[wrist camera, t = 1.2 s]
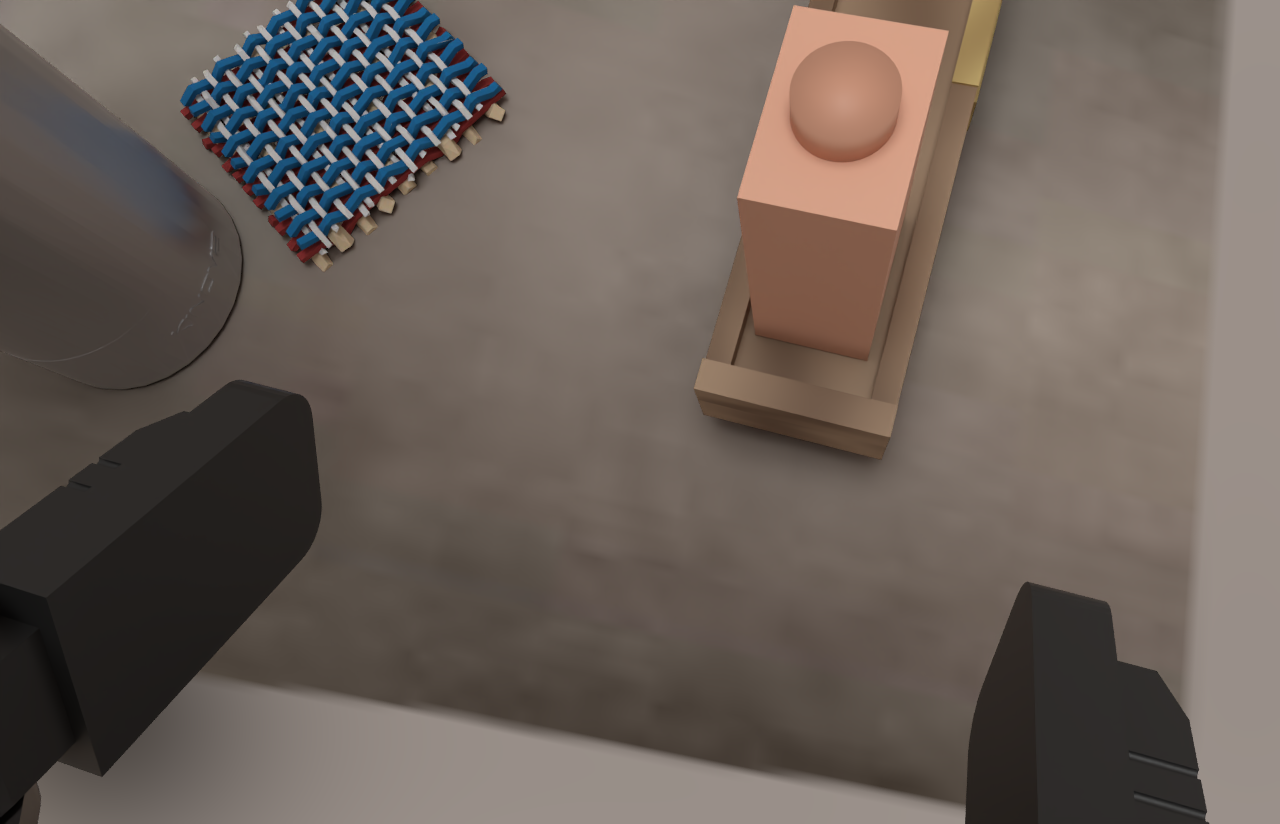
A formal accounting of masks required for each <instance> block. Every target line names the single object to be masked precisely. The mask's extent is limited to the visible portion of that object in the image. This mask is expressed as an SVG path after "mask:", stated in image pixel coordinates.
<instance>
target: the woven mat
mask: <svg viewBox="0 0 1280 824" xmlns="http://www.w3.org/2000/svg"><path fill="white" fill-rule="evenodd" d="M413 1H415V0H371V2H370V4H368V3H367V2H365V1H364V0H297V2H296V5H294V4H293V3H292V2H291V1H289V2H288V4H287V7H288V8H289V9H290V10H288V11H285V12H283V13H280V12H279V10H278V9H275V10H274V11H273V12H272V13H273V15H274V16H273V17H272V18H271V20H270V22H269V24H268V26H267V28H266V29H265V28H264V27H263V26H262V25H260V26H257V28H258V31H259V32H260V33H259V34H252V35H251V34H250V33H249V32H248V31H246V32H245V33H244V34H243V36H244V37H245V38H246V41H245V43H244V45H243V47H242V48H241V47H240V46H239V45H238V43H237V44H236V46H235V47H234V49H235V51H236V52H237V53H238V54H237V55H234V56H231V57H228V58H225V59H223V60H222V59H221V58H220V57H219V56H218V55H217V56H216V57H214V58H213V60H214V61H215V62H216V64H215V67H214V69H213V72H212V75H211V74H210V73H209V71H208V70H205V71H203V73H204V76H205V78H206V79H204V80H201V81H198V80H197V78H196V77H193V78H192V79H191V82H192V83H193V84H191V85H188V87H187V89H186V91H185V92H184V94H183V96H182V98H181V100H180V101H181V103H182V104H183V105H184V106H186V107H185V108H184V109H182V110H181V111H180V112H181V113H182V114H183V115H184V117H186V118H187V119H188V120H189V119H191V118H192V117H193V116H194V117H197V118H198V119H197V120H196V121H194V122H193V123H192V124H191V125H192V126H193V127H194V129H195V130H197V131H198V132H199V133H200V132H201V131H202V130H204V131H205V132H208V135H209V136H210V137H208V138H205V139H202V142H203V145H204V146H205V148H206V149H211V150H212V151H213V152H214V153H215V154H216V155H217V156H218V157H221V156H222V155H224V156H225V157H230V158H229V159H228V160H227V161H226V162H225V163H224V164H223V165H222V167H223V168H224V170H225V171H226V172H227V173H228V172H230V171H232V170H233V169H239V170H238V171H236V172H235V173H233V174H232V175H233V176H234V178H235V179H236V180H237V181H238V183H241V182H242V181H245V182H246V183H247V184H246V185H244V186H243V187H242V188H243V190H244V191H245V192H246V193H247V194H248V195H249V196H252V195H253V194H255V195H256V196H258V197H257V198H256V199H255V200H253V202H254V203H255V205H256V206H257V207H258V208H260V209H262V208H264V207H266V208H267V209H268V210H270V212H271V213H272V214H273V215H270V216H269V217H268V222H269V223H270V224H271V225H272V227H273V226H275V227H274V228H275V229H276V230H277V232H278V233H279V234H280V235H282V236H283V235H285V234H286V233H287V234H288V235H289V236H290V237H291V238H292V237H293V238H292V239H291V240H290V241H289V242H288V244H287V246H288V247H289V248H290V250H291V251H297V250H298V249H299V248H301V250H302V251H300V252H299V253H298V254H297V256H298V258H299V259H300V260H301V261H302V262H303V263H305V262H306V261H307V260H309V259H310V258H311V259H312V260H313V262H314V263H315V264H316V265H317V266H318V267H319V268H320V269H321V270H322V271H323V272H325V271H326V270H327V269H328V268H329V267H331V266H332V265H333V263H332V261H331V260H330V258H329V257H328V256H327V254H326V253H327V251H326V250H325V248H330V247H331V246H333V245H336V247H337V248H338V249H339V250H340V251H341V252H343V251H345V250H346V249H347V248H349V247H350V246H352V244H353V242H354V239H353V238H352V236H351V235H350V234H351V233H352V231H353V229H354V227H355V225H356V224H357V225H358V226H359V227H360V228H361V229H362V230H363V231H364V232H365V233H366V234H367V235H369V234H370V233H372V232H373V231H374V230H375V229H376V228H377V227H378V226H377V225H376V223H375V222H374V220H373V219H372V218H371V216H370V213H369V210H370V209H371V208H373V207H374V206H375V205H376V206H377V207H378V209H379V210H380V211H382V212H387V213H392V210H393V207H394V204H395V201H394V200H393V199H392V197H391V196H390V195H389V194H390V193H391V192H392V191H393V190H394V189H396V188H398V189H399V190H400V191H401V192H402V194H403V195H406V194H408V193H409V192H410V191H411V190H412V189H413V188H415V187H416V186H417V185H416V183H415V182H414V180H415V177H414V173H415V172H416V171H417V170H419V169H420V168H421V169H422V170H423V171H424V172H425V174H426V175H427V176H429V175H430V174H431V173H432V172H434V171H435V170H436V169H437V168H438V167H437V166H436V165H435V164H434V162H433V161H432V160H434V159H436V158H439V157H442V156H443V155H444V154H445V155H446V156H447V157H448V159H449V160H450V161H452V160H453V159H455V158H456V157H457V156H459V155H460V153H461V151H462V149H461V148H460V147H459V146H458V145H457V143H458V141H459V139H460V137H461V135H462V134H463V136H465V137H466V138H467V139H468V140H469V141H470V142H471V143H472V144H474V145H476V144H477V143H478V142H479V141H480V140H482V138H481V137H480V135H479V134H478V133H477V131H476V130H475V129H474V127H473V126H472V124H473V123H474V122H475V121H477V120H478V119H479V118H480V117H481V116H482V115H483V114H484V113H485V115H486V116H487V117H489V118H492V119H495V120H498V121H502V118H503V115H504V113H505V110H504V109H502V108H501V107H499V106H498V105H497V103H496V102H497V101H499V100H500V99H501V98H502V97H503V96H504V95H505V94H506V93H505V91H504V90H503V89H502V88H501V87H500V86H499V85H498V84H497V83H496V82H495V81H494V80H493V79H492V77H488V78H485V79H482V80H481V81H480V82H478V81H479V80H480V78H481V77H483V76H484V75H486V74H488V73H487V68H486V67H485V66H484V65H483V64H482V63H481V64H478V63H477V62H476V61H475V60H474V59H473V58H472V57H471V56H469V54H468V53H467V52H466V51H465V50H464V49H463V48H464V47H463V43H462V42H461V41H460V40H459V39H458V38H457V39H455V38H454V37H453V36H452V35H451V34H450V33H449V32H447V31H446V29H444V28H442V27H439V29H438V31H437V32H436V34H434V33H433V32H431V31H432V29H433V28H434V27H435V26H437V25H438V24H440V19H439V18H438V17H437V16H436V15H435V14H434V13H433V14H431V13H430V12H429V11H428V10H427V9H426V8H424V6H423V5H422V4H421V3H420V2H419V1H418V2H416V3H415V4H413V5H412V6H411V7H409V5H410V3H412V2H413ZM336 2H337V3H338V4H337V5H336V4H335V3H336ZM307 5H308V7H307ZM381 7H382V8H381ZM408 7H409V8H408ZM317 22H320V24H319V26H318V28H316V27H315V26H314V25H312V24H311V23H317ZM282 25H283V26H284V27H283V28H281V26H282ZM329 30H330V31H329ZM263 44H266V46H265V49H263V48H262V47H261V46H260V45H263ZM333 47H334V48H333ZM417 47H418V48H417ZM411 48H415V49H411ZM410 49H411V50H410ZM380 50H382V51H383V53H384V55H383V54H381V53H380V52H379V51H380ZM457 52H458V53H457ZM456 53H457V54H456ZM237 66H238V67H237ZM234 67H237V68H235V69H233V70H230V69H232V68H234ZM282 69H283V70H282ZM362 70H365V71H362ZM332 71H333V72H332ZM358 71H362V72H360V73H358V74H356V73H355V72H358ZM224 73H226V75H224ZM435 73H438V75H437V77H436V76H434V75H433V74H435ZM223 75H224V76H223ZM324 75H327V77H328V78H329V81H328V80H327V79H326V78H325V77H324ZM403 75H404V76H403ZM297 76H298V78H297ZM402 76H403V77H402ZM200 93H201V95H200ZM308 93H309V95H305V96H303V94H308ZM273 96H275V97H276V98H277V100H278V101H277V103H276V102H275V100H274V99H273ZM381 96H385V97H384V99H383V100H382V101H381V100H380V99H378V98H377V97H381ZM246 98H247V99H246ZM194 99H195V100H194ZM245 99H246V100H245ZM346 100H347V101H346ZM366 110H367V111H368V112H367V111H366ZM229 115H230V117H228V116H229ZM254 116H257V117H255V118H252V117H254ZM330 118H331V121H330V123H329V124H327V122H326V121H325V120H326V119H330ZM220 119H222V120H223V121H224V123H225V124H226V125H225V127H224V125H223V124H222V122H221V121H220ZM295 121H297V122H295ZM294 122H295V123H294ZM368 126H369V127H368ZM450 126H452V127H453V128H452V130H451V129H450ZM276 141H278V142H277V145H276V147H275V144H274V143H273V142H276ZM434 146H435V147H434ZM430 147H432V148H430ZM427 148H429V149H427ZM424 149H426V150H424ZM393 151H394V152H395V153H396V156H395V155H394V154H393V153H392V152H393ZM259 154H260V155H261V156H262V158H259V159H257V157H258V156H259ZM339 174H341V175H342V176H343V178H341V177H340V176H339ZM284 197H286V198H287V199H288V201H286V200H285V199H284ZM342 221H343V223H342V225H341V224H340V222H342ZM306 224H307V225H306Z"/></svg>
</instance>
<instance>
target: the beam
mask: <svg viewBox="0 0 1280 824" xmlns="http://www.w3.org/2000/svg"><path fill="white" fill-rule="evenodd" d="M1001 3H1002V0H810V3H809V6H808V8H813V9H819V10H825V11H831V12H837V13H843V14H849V15H856V16H862V17H868V18H874V19H880V20H886V21H892V22H898V23H904V24H910V25H916V26H922V27H928V28H934V29H940V30H946V31H949V33H948V37H947V41H946V45H945V49H944V54H943V58H942V62H941V66H940V70H939V75H938V79H937V83H936V87H935V91H934V96H933V100H932V104H931V108H930V112H929V117H928V121H927V125H926V129H925V133H924V138H923V142H922V146H921V150H920V154H919V159H918V163H917V167H916V171H915V175H914V180H913V184H912V188H911V192H910V196H909V201H908V205H907V209H906V213H905V217H904V221H903V225H902V229H901V233H900V236H899V240H898V244H897V248H896V252H895V256H894V260H893V263H892V267H891V271H890V275H889V279H888V283H887V287H886V290H885V294H884V298H883V302H882V306H881V310H880V314H879V317H878V321H877V325H876V329H875V333H874V337H873V341H872V344H871V348H870V352H869V356H868V360H867V361H865V360H861V359H857V358H852V357H848V356H844V355H840V354H835V353H831V352H827V351H823V350H818V349H814V348H810V347H806V346H801V345H797V344H793V343H789V342H784V341H780V340H776V339H772V338H767V337H763V336H759V335H755V329H754V322H753V314H752V307H751V299H750V291H749V284H748V276H747V269H746V261H745V253H744V246H743V238H742V236H741V239H740V243H739V246H738V250H737V253H736V257H735V260H734V263H733V267H732V270H731V274H730V277H729V281H728V284H727V288H726V291H725V294H724V298H723V301H722V305H721V308H720V312H719V315H718V318H717V322H716V325H715V329H714V332H713V336H712V339H711V342H710V346H709V349H708V353H707V356H706V359H705V358H702V362H701V365H700V369H699V372H698V376H697V379H696V382H695V386H694V390H695V393H696V396H697V398H698V401H699V404H700V406H701V409H702V411H703V414H704V415H707V416H711V417H715V418H719V419H723V420H727V421H731V422H735V423H739V424H743V425H747V426H751V427H755V428H759V429H762V430H766V431H770V432H774V433H778V434H782V435H786V436H790V437H794V438H798V439H802V440H806V441H810V442H813V443H817V444H821V445H825V446H829V447H833V448H837V449H841V450H845V451H849V452H853V453H857V454H861V455H865V456H868V457H872V458H876V459H880V460H881V459H882V456H883V454H884V451H885V449H886V447H887V444H888V442H889V439H890V436H891V432H892V428H893V424H894V420H895V416H896V412H897V408H898V402H899V398H900V394H901V390H902V386H903V382H904V378H905V374H906V370H907V366H908V362H909V358H910V354H911V350H912V346H913V342H914V338H915V334H916V330H917V326H918V322H919V318H920V314H921V310H922V306H923V302H924V298H925V294H926V290H927V286H928V282H929V278H930V274H931V270H932V266H933V262H934V258H935V254H936V250H937V246H938V242H939V238H940V235H941V231H942V227H943V223H944V219H945V215H946V211H947V207H948V203H949V199H950V195H951V191H952V187H953V183H954V179H955V175H956V171H957V167H958V163H959V159H960V155H961V151H962V147H963V143H964V139H965V135H966V131H968V128H969V125H970V122H971V119H972V116H973V112H974V109H975V106H976V103H977V99H978V95H979V91H980V87H981V83H982V79H983V75H984V71H985V67H986V63H987V59H988V55H989V51H990V47H991V43H992V39H993V35H994V31H995V27H996V23H997V19H998V15H999V11H1000V7H1001Z"/></svg>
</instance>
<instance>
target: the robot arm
mask: <svg viewBox="0 0 1280 824" xmlns="http://www.w3.org/2000/svg"><path fill="white" fill-rule="evenodd" d="M241 264H242V256H241V249H240V242H239V236H238V234H237V231H236V229H235V226H234V223H233V221H232V218H231V217H230V215H229V214H228V212H227V211H226V210H225V208H224V207H223V205H222V204H221V203H220V201H219V200H218V199H217V198H215V197H214V196H213V195H212V194H211V193H209V192H208V191H207V190H206V189H205V188H203V187H202V186H201V185H200V184H199V183H197V182H196V181H195V180H194V179H192V178H191V177H190V176H189V175H187V174H186V173H185V172H184V171H182V170H181V169H180V168H179V167H178V166H176V165H175V164H174V163H173V162H171V161H170V160H169V159H168V158H166V157H165V156H164V155H163V154H162V153H160V152H159V151H158V150H157V149H156V148H155V147H154V146H152V145H151V144H150V143H149V142H147V141H146V140H145V139H144V138H142V137H141V136H140V135H139V134H137V133H136V132H135V131H134V130H132V129H131V128H130V127H129V126H127V125H126V124H125V123H124V122H122V121H121V120H120V119H119V118H117V117H116V116H115V115H114V114H112V113H111V112H110V111H109V110H107V109H106V108H105V107H104V106H102V105H101V104H100V103H99V102H97V101H96V100H95V99H94V98H92V97H91V96H90V95H89V94H87V93H86V92H85V91H84V90H82V89H81V88H80V87H79V86H77V85H76V84H75V83H74V82H72V81H71V80H70V79H69V78H67V77H66V76H65V75H64V74H62V73H61V72H60V71H59V70H57V69H56V68H55V67H54V66H52V65H51V64H50V63H49V62H47V61H46V60H45V59H44V58H42V57H41V56H40V55H39V54H37V53H36V52H35V51H34V50H33V49H31V48H30V47H29V46H28V45H26V44H25V43H24V42H23V41H21V40H20V39H19V38H18V37H16V36H15V35H14V34H13V33H11V32H10V31H9V30H8V29H6V28H5V27H4V26H3V25H1V24H0V351H3V352H5V353H7V354H9V355H12V356H14V357H17V358H19V359H22V360H25V361H27V362H30V363H32V364H35V365H37V366H40V367H42V368H45V369H48V370H50V371H53V372H55V373H58V374H60V375H63V376H65V377H68V378H71V379H73V380H76V381H78V382H81V383H84V384H88V385H91V386H94V387H98V388H105V389H128V388H134V387H140V386H146V385H148V384H151V383H154V382H156V381H159V380H161V379H164V378H166V377H169V376H170V375H172V374H173V373H175V372H177V371H178V370H180V369H181V368H183V367H185V366H186V365H188V364H189V363H190V362H191V361H192V360H194V359H195V358H196V357H197V356H198V355H199V354H200V353H201V352H202V351H203V350H204V349H206V348H207V347H208V345H209V344H210V343H211V341H212V340H213V339H214V337H215V336H216V335H217V333H218V332H219V331H220V329H221V328H222V327H223V325H224V323H225V321H226V319H227V317H228V315H229V313H230V311H231V309H232V307H233V305H234V302H235V298H236V295H237V291H238V288H239V284H240V278H241ZM321 510H322V504H321V493H320V483H319V474H318V465H317V456H316V446H315V437H314V428H313V418H312V412H311V408H310V405H309V403H308V401H307V400H306V399H305V398H304V397H303V396H301V395H299V394H295V393H291V392H288V391H284V390H280V389H276V388H272V387H268V386H264V385H260V384H256V383H252V382H248V381H244V380H235V381H232V382H230V383H228V384H227V385H225V386H224V387H222V388H221V389H220V390H218V391H217V392H216V393H214V394H213V395H212V396H211V397H209V398H208V399H207V400H205V401H204V402H203V403H201V404H200V405H199V406H197V407H196V408H195V409H193V410H192V411H191V412H190V413H189V412H185V411H183V412H181V413H178V414H176V415H173V416H171V417H168V418H166V419H163V420H161V421H158V422H156V423H153V424H151V425H149V426H146V427H144V428H141V429H139V430H136V431H135V432H133V433H132V434H131V435H129V436H128V437H127V438H125V439H124V440H123V441H121V442H120V443H118V444H117V445H116V446H114V447H113V448H112V449H110V450H109V451H108V452H106V453H105V454H103V455H102V456H101V457H99V462H98V463H97V464H93V463H91V464H90V465H89V466H87V467H86V468H84V469H83V470H82V471H80V472H79V473H78V474H76V475H75V476H74V477H72V478H71V479H70V480H69V484H68V485H67V487H63V486H60V487H59V488H57V489H56V490H55V491H53V492H52V493H50V494H49V495H48V496H46V497H45V498H44V499H42V500H41V501H40V502H38V503H37V504H36V505H34V506H33V507H31V508H30V509H29V510H27V511H26V512H25V513H23V514H22V515H21V516H19V517H18V518H16V519H15V520H14V521H12V522H11V523H10V524H8V525H7V526H6V527H4V528H3V529H2V530H0V824H38V819H39V813H40V806H41V795H40V791H39V787H38V784H37V781H38V780H39V779H40V778H41V777H42V776H43V775H44V774H45V773H46V772H47V771H48V770H49V769H50V768H51V767H52V766H53V765H54V764H55V763H56V762H57V761H59V762H62V763H64V764H67V765H70V766H73V767H76V768H78V769H81V770H84V771H87V772H90V773H93V774H95V775H98V776H101V777H102V776H103V775H104V774H105V773H106V772H107V771H108V770H109V768H111V767H112V766H113V764H114V763H115V762H116V761H117V760H118V759H119V758H120V757H121V756H122V755H123V754H124V752H125V751H126V750H127V749H128V748H129V747H130V746H131V745H132V744H133V743H134V742H135V741H136V739H137V738H138V737H139V736H140V735H141V734H142V733H143V732H144V731H145V730H146V728H147V727H148V726H149V725H150V724H151V723H152V722H153V721H154V720H155V718H157V717H158V715H159V714H160V713H161V712H162V711H163V710H164V709H165V708H166V707H167V706H168V704H169V703H170V702H171V701H172V700H173V699H174V698H175V697H176V696H177V695H178V693H179V692H180V691H181V690H182V689H183V688H184V687H185V686H186V685H187V684H188V683H189V682H190V681H191V679H192V678H193V677H194V676H195V675H196V674H197V673H198V672H199V671H200V670H201V669H202V667H203V666H204V665H205V664H206V663H207V662H208V661H209V660H210V659H211V658H212V657H213V655H214V654H215V653H216V652H217V651H218V650H219V649H220V648H221V647H222V646H223V645H224V643H225V642H226V641H227V640H228V639H229V638H230V637H231V636H232V635H233V634H234V633H235V631H236V630H237V629H238V628H239V627H240V626H241V625H242V624H243V623H244V622H245V621H246V620H247V618H248V617H249V616H250V615H251V614H252V613H253V612H254V611H255V610H256V609H257V608H258V606H259V605H260V604H261V603H262V602H263V601H264V600H265V599H266V598H267V597H268V596H269V594H270V593H271V592H272V591H273V590H274V589H275V588H276V587H277V586H278V585H279V584H280V582H281V581H282V580H283V579H284V578H285V577H286V576H287V575H288V574H289V573H290V572H291V570H292V569H293V568H294V567H295V566H296V565H297V564H298V563H299V562H300V561H301V560H302V558H303V557H304V556H305V555H306V553H307V552H308V550H309V549H310V547H311V545H312V543H313V541H314V538H315V536H316V533H317V531H318V527H319V523H320V518H321ZM1198 771H1199V768H1198V763H1197V758H1196V753H1195V747H1194V742H1193V737H1192V732H1191V727H1190V722H1189V719H1188V718H1187V716H1186V714H1185V713H1184V711H1183V710H1182V708H1181V707H1180V705H1179V704H1178V702H1177V701H1176V699H1175V698H1174V696H1173V695H1172V693H1171V692H1170V690H1169V689H1168V687H1167V686H1166V684H1165V683H1164V681H1163V680H1162V678H1161V677H1160V675H1159V674H1158V672H1157V671H1154V670H1150V669H1147V668H1143V667H1139V666H1135V665H1132V664H1128V663H1124V662H1120V661H1117V654H1116V646H1115V638H1114V630H1113V622H1112V615H1111V609H1110V607H1109V605H1108V603H1107V602H1105V601H1101V600H1097V599H1093V598H1089V597H1085V596H1081V595H1077V594H1074V593H1070V592H1066V591H1062V590H1058V589H1054V588H1050V587H1046V586H1042V585H1038V584H1034V583H1030V582H1025V583H1024V584H1023V586H1022V587H1021V589H1020V591H1019V593H1018V595H1017V598H1016V600H1015V603H1014V605H1013V608H1012V610H1011V613H1010V616H1009V618H1008V621H1007V623H1006V626H1005V629H1004V631H1003V634H1002V636H1001V639H1000V642H999V644H998V647H997V649H996V652H995V655H994V657H993V660H992V662H991V665H990V668H989V670H988V673H987V675H986V678H985V681H984V683H983V686H982V689H981V692H980V695H979V698H978V701H977V705H976V709H975V713H974V717H973V722H972V728H971V733H970V740H969V750H968V769H967V793H966V817H965V824H1209V823H1208V822H1206V821H1205V815H1206V813H1207V809H1206V804H1205V799H1204V794H1203V789H1202V784H1201V780H1199V779H1197V774H1198Z"/></svg>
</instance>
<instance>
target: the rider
mask: <svg viewBox="0 0 1280 824" xmlns="http://www.w3.org/2000/svg"><path fill="white" fill-rule="evenodd" d="M948 33H949V31H946V30H940V29H934V28H928V27H922V26H916V25H910V24H904V23H898V22H892V21H886V20H880V19H874V18H868V17H862V16H856V15H849V14H843V13H837V12H831V11H825V10H819V9H813V8H807V7H801V6H795V5H794V6H793V10H792V13H791V16H790V20H789V23H788V27H787V30H786V33H785V37H784V40H783V44H782V47H781V50H780V54H779V57H778V61H777V64H776V67H775V71H774V74H773V78H772V81H771V84H770V88H769V91H768V95H767V98H766V101H765V105H764V108H763V112H762V115H761V118H760V122H759V125H758V129H757V132H756V135H755V139H754V142H753V146H752V149H751V152H750V156H749V159H748V162H747V166H746V169H745V173H744V176H743V179H742V183H741V186H740V190H739V193H738V196H737V200H738V208H739V215H740V223H741V230H742V238H743V246H744V253H745V261H746V269H747V276H748V284H749V291H750V299H751V307H752V314H753V322H754V329H755V335H759V336H763V337H767V338H772V339H776V340H780V341H784V342H789V343H793V344H797V345H801V346H806V347H810V348H814V349H818V350H823V351H827V352H831V353H835V354H840V355H844V356H848V357H852V358H857V359H861V360H865V361H867V360H868V356H869V352H870V348H871V344H872V341H873V337H874V333H875V329H876V325H877V321H878V317H879V314H880V310H881V306H882V302H883V298H884V294H885V290H886V287H887V283H888V279H889V275H890V271H891V267H892V263H893V260H894V256H895V252H896V248H897V244H898V240H899V236H900V233H901V229H902V225H903V221H904V217H905V213H906V209H907V205H908V201H909V196H910V192H911V188H912V184H913V180H914V175H915V171H916V167H917V163H918V159H919V154H920V150H921V146H922V142H923V138H924V133H925V129H926V125H927V121H928V117H929V112H930V108H931V104H932V100H933V96H934V91H935V87H936V83H937V79H938V75H939V70H940V66H941V62H942V58H943V54H944V49H945V45H946V41H947V37H948Z"/></svg>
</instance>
